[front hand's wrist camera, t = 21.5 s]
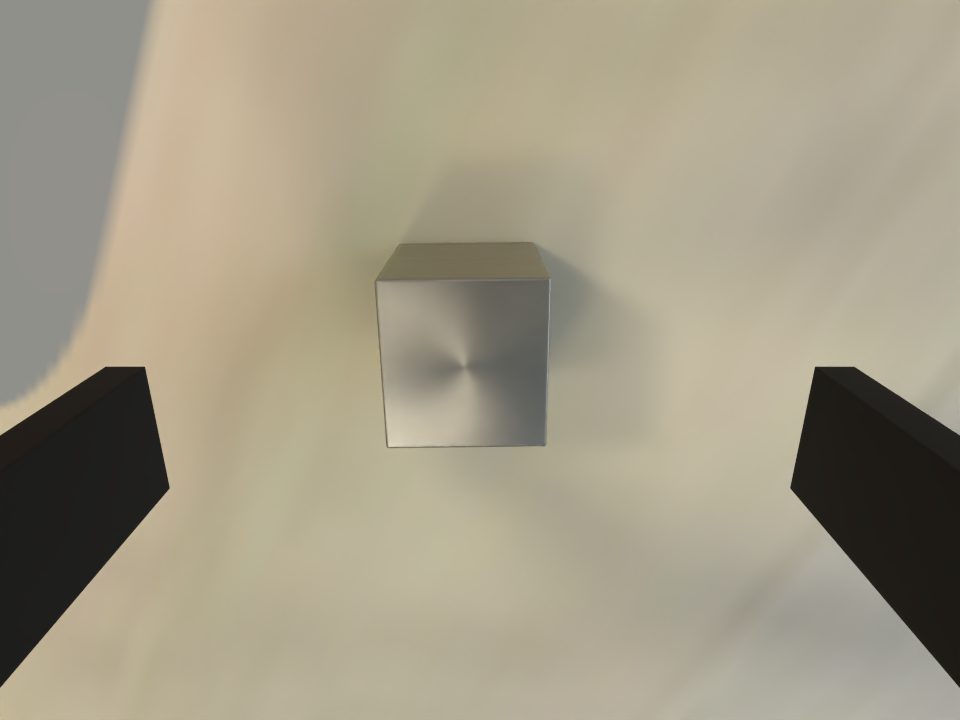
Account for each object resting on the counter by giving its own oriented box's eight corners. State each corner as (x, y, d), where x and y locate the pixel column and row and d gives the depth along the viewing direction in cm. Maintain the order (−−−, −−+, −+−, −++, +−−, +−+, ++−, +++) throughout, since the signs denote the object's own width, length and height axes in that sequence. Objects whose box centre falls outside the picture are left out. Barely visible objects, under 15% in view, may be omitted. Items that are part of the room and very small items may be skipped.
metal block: (406, 378, 20) (386, 448, 16) (398, 243, 18) (374, 279, 14) (531, 376, 20) (546, 447, 16) (533, 242, 18) (551, 277, 14)
